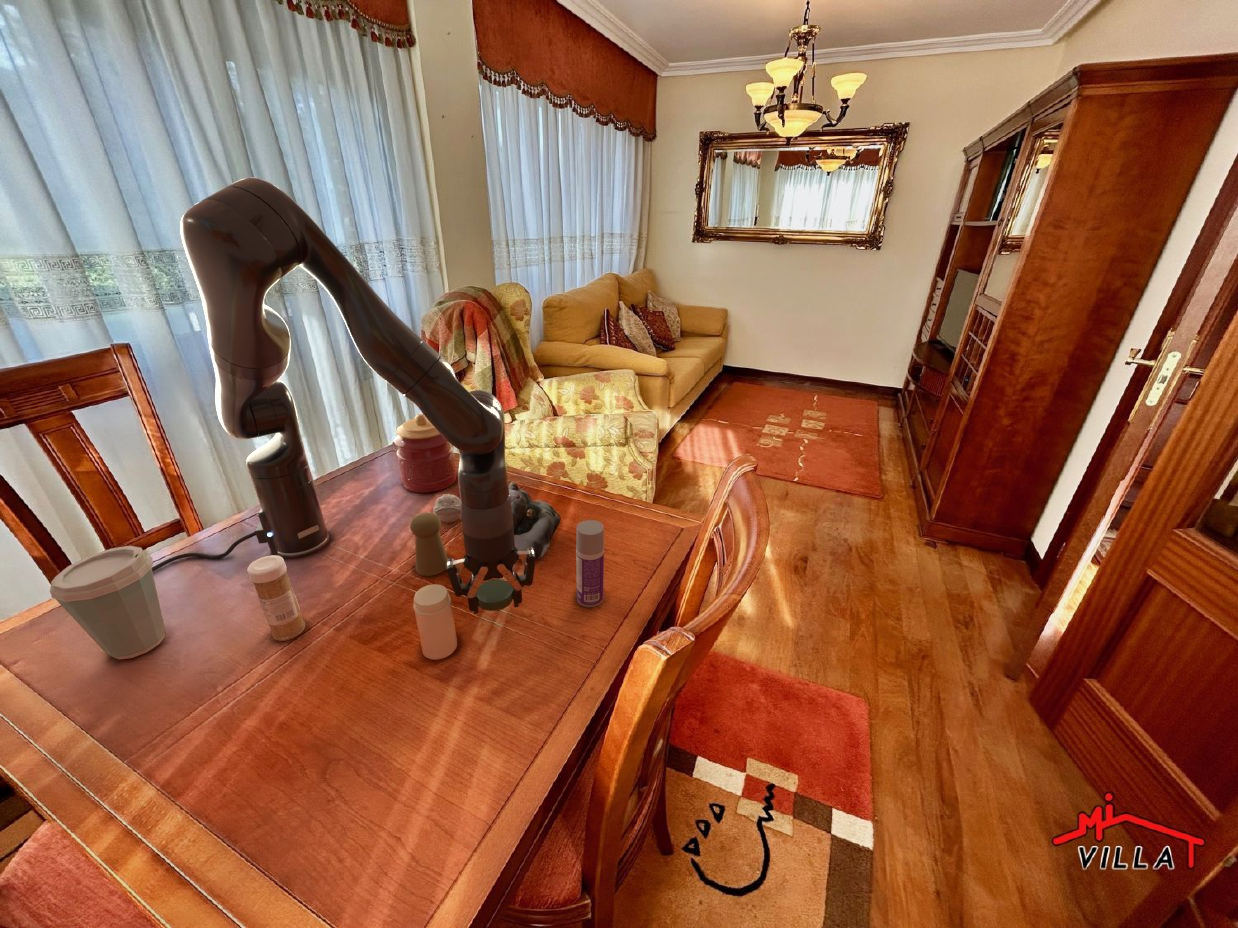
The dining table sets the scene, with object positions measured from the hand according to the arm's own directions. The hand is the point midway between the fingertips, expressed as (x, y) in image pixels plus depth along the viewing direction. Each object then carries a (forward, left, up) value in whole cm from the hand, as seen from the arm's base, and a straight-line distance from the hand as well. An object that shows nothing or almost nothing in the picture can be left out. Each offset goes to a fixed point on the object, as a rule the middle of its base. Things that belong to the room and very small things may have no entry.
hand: (496, 606), depth 83 cm
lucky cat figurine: (+6, +19, -2) cm, 20 cm away
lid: (0, 0, +3) cm, 3 cm away
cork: (-11, +16, -2) cm, 19 cm away
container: (+16, 0, -2) cm, 16 cm away
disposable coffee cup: (-53, +7, -2) cm, 53 cm away
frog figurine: (-8, +31, -2) cm, 32 cm away
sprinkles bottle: (-32, +4, -2) cm, 32 cm away
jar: (-9, -5, -2) cm, 10 cm away
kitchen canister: (-13, +51, -2) cm, 53 cm away
